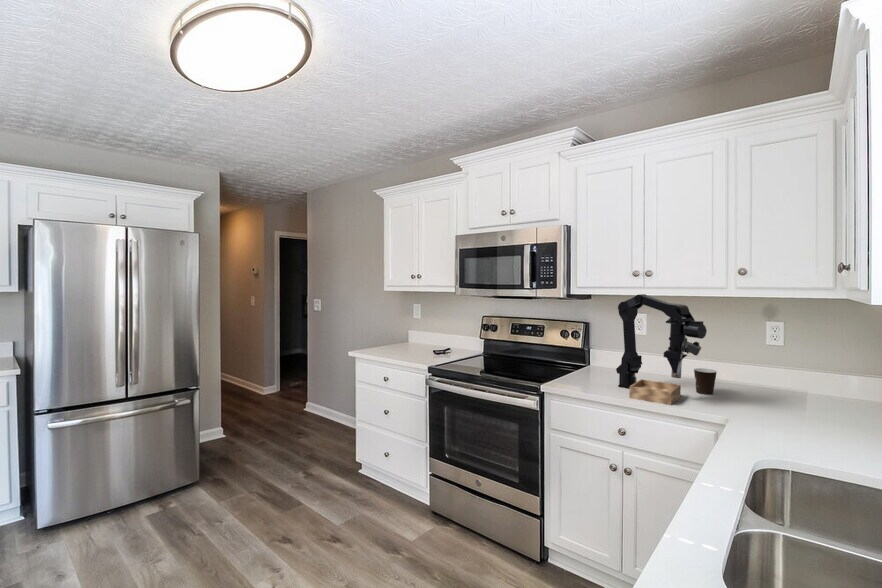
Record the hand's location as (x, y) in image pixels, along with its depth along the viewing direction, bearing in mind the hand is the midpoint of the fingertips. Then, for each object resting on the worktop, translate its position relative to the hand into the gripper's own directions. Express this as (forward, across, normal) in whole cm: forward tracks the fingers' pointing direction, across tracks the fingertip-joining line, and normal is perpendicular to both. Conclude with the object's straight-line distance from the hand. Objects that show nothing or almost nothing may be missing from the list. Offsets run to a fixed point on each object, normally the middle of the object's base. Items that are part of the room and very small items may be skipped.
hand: (676, 372), depth 186 cm
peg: (+2, 0, 0) cm, 2 cm away
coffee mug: (+12, +21, -8) cm, 25 cm away
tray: (+12, -2, +7) cm, 14 cm away
